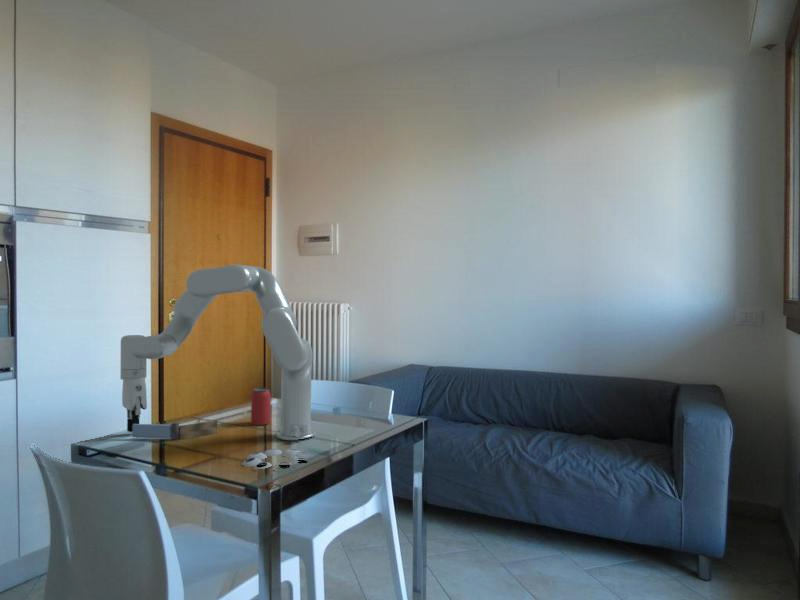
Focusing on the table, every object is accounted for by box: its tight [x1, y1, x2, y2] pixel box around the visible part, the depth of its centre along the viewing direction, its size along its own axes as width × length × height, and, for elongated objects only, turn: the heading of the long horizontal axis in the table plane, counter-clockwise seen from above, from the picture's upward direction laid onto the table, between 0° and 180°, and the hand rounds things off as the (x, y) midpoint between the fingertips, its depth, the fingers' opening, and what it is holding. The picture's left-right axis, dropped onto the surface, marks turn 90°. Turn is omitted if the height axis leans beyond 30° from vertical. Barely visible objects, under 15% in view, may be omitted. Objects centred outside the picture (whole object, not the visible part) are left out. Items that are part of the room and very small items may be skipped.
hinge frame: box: [171, 420, 218, 441], centre depth 178 cm, size 14×2×5 cm, turn 132°
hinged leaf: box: [131, 423, 172, 439], centre depth 174 cm, size 12×1×4 cm, turn 87°
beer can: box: [250, 387, 272, 426], centre depth 197 cm, size 7×7×12 cm
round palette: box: [241, 448, 307, 469], centre depth 153 cm, size 20×20×2 cm
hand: (133, 430), depth 179 cm, fingers closed
